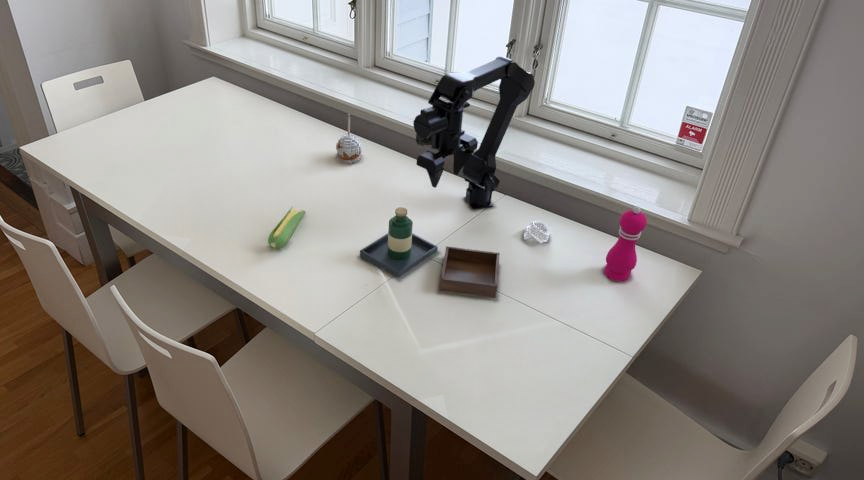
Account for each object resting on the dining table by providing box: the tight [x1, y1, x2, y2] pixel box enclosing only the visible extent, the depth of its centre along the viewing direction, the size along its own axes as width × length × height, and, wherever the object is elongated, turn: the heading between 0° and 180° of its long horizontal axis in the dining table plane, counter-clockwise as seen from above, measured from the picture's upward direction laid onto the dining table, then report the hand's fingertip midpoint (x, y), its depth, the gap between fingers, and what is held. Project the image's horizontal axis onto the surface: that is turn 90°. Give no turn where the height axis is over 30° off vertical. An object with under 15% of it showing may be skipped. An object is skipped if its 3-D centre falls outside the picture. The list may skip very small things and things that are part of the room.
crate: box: [438, 245, 501, 299], centre depth 162 cm, size 13×13×4 cm
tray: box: [359, 232, 439, 279], centre depth 170 cm, size 15×13×2 cm
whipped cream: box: [523, 220, 551, 244], centre depth 177 cm, size 8×7×5 cm
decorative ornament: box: [335, 113, 363, 164], centre depth 205 cm, size 8×8×15 cm
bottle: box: [387, 206, 414, 260], centre depth 166 cm, size 6×6×13 cm
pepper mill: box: [603, 205, 648, 282], centre depth 161 cm, size 7×7×20 cm
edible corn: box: [267, 205, 306, 249], centre depth 176 cm, size 5×20×5 cm, turn 165°
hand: (445, 180), depth 175 cm, fingers open, 9 cm apart
